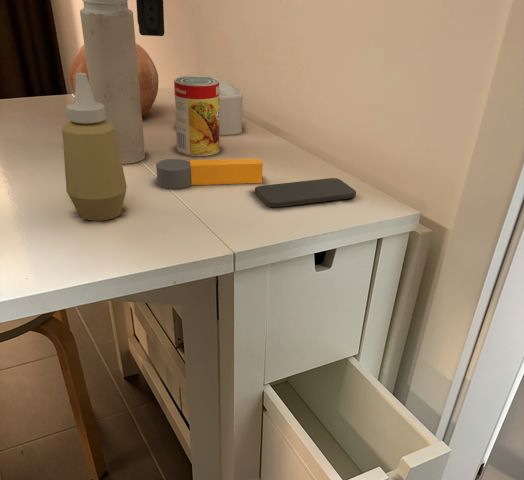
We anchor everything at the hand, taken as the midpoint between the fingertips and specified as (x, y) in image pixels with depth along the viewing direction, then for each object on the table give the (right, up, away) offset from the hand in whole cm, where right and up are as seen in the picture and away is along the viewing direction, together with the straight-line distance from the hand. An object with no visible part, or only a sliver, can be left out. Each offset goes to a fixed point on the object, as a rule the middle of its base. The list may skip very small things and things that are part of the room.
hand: (150, 30), depth 75 cm
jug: (-16, +7, +45) cm, 49 cm away
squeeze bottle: (-8, -25, +3) cm, 26 cm away
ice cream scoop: (+7, -16, +15) cm, 23 cm away
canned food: (+3, -6, +28) cm, 29 cm away
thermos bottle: (-10, -9, +23) cm, 27 cm away
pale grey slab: (+4, +3, +40) cm, 41 cm away
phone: (+22, -19, +12) cm, 32 cm away
